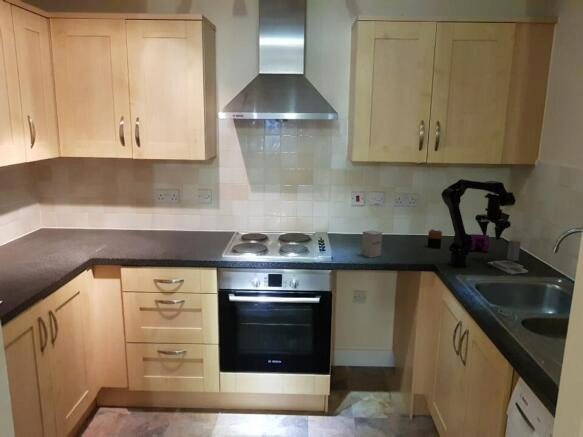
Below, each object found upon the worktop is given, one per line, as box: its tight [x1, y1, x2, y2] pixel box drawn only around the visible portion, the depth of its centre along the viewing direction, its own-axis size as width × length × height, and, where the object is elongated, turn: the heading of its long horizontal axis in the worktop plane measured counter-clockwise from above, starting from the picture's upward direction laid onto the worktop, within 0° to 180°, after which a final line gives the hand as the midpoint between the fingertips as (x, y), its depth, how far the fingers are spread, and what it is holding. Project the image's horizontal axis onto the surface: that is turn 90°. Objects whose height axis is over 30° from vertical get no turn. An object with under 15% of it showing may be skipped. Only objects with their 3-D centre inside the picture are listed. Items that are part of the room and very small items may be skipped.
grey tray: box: [487, 259, 529, 275], centre depth 225 cm, size 9×17×2 cm, turn 17°
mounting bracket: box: [469, 233, 490, 253], centre depth 260 cm, size 10×8×18 cm
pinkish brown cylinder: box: [361, 229, 383, 259], centre depth 242 cm, size 7×7×13 cm
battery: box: [427, 229, 443, 250], centre depth 260 cm, size 4×7×10 cm, turn 67°
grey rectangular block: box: [506, 239, 521, 262], centre depth 238 cm, size 4×4×10 cm
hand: (490, 237), depth 231 cm, fingers open, 9 cm apart
